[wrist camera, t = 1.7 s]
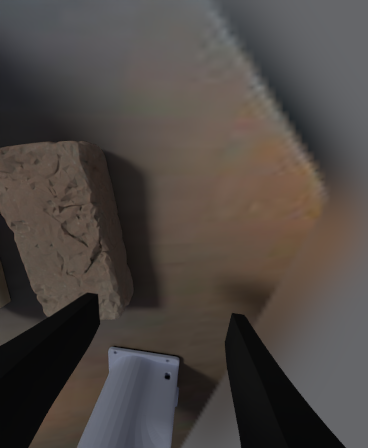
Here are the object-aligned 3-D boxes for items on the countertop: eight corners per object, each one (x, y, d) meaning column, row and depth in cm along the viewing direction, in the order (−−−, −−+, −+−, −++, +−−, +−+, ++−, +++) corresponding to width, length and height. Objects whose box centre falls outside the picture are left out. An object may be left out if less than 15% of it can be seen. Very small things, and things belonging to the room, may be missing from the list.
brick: (138, 293, 21) (122, 327, 16) (73, 295, 22) (41, 328, 17) (109, 144, 16) (74, 133, 11) (27, 153, 17) (-36, 147, 12)
